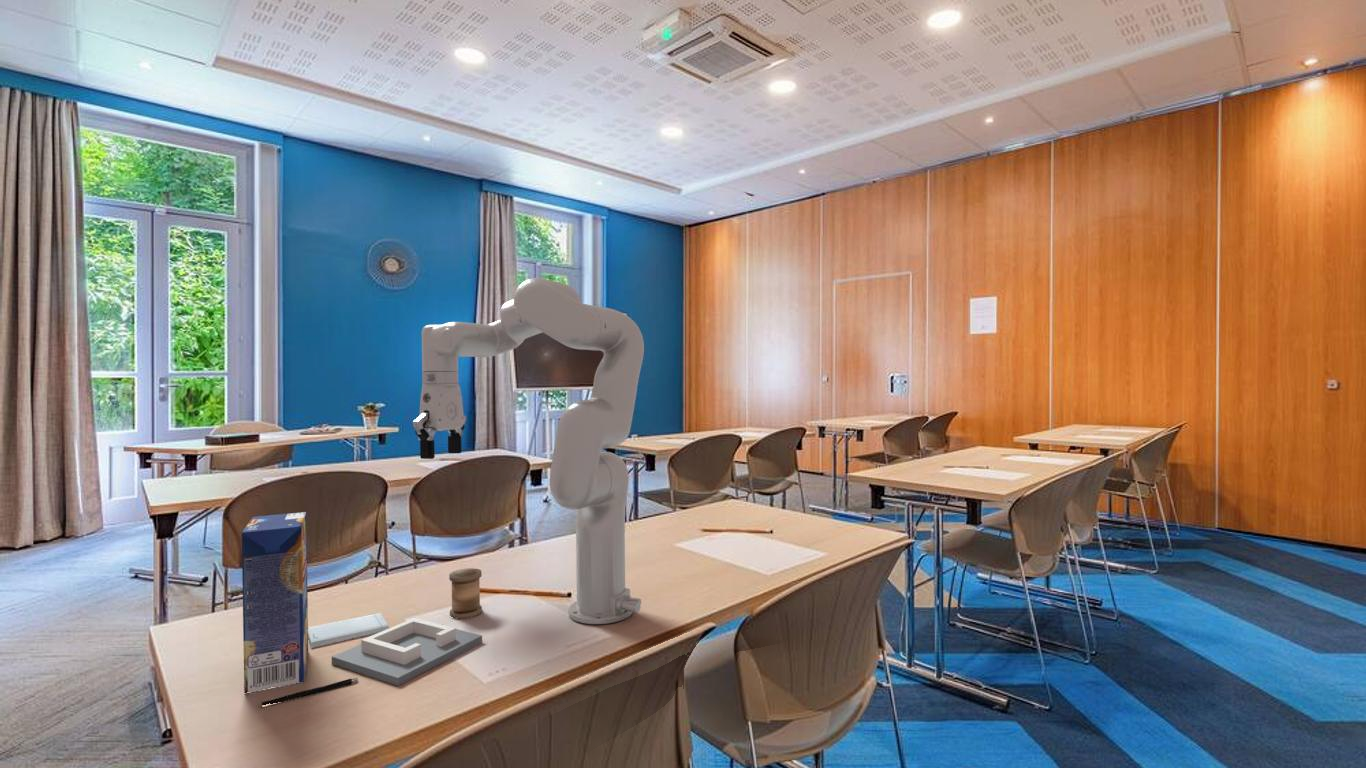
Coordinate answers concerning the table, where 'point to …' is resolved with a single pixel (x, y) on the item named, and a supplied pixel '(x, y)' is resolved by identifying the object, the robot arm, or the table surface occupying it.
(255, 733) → the table surface
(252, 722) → the table surface
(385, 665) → the notched board
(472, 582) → the bobbin
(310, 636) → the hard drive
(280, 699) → the black pencil
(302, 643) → the juice carton
